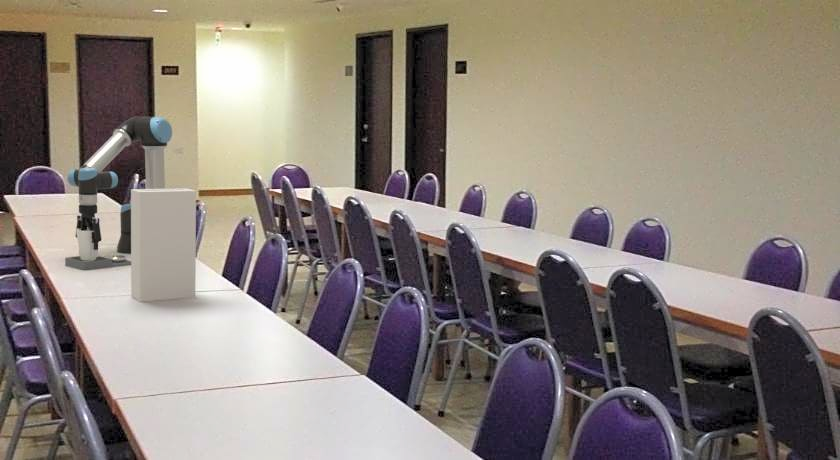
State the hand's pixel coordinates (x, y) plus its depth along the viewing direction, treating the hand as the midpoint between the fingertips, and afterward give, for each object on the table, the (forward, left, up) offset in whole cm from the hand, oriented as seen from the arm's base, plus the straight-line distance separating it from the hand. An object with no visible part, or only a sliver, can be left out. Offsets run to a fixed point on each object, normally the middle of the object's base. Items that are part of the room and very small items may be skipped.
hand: (88, 255), depth 413 cm
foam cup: (0, 0, -2) cm, 2 cm away
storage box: (+14, +75, -5) cm, 77 cm away
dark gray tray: (-6, 0, -5) cm, 7 cm away
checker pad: (-13, 0, -3) cm, 13 cm away
